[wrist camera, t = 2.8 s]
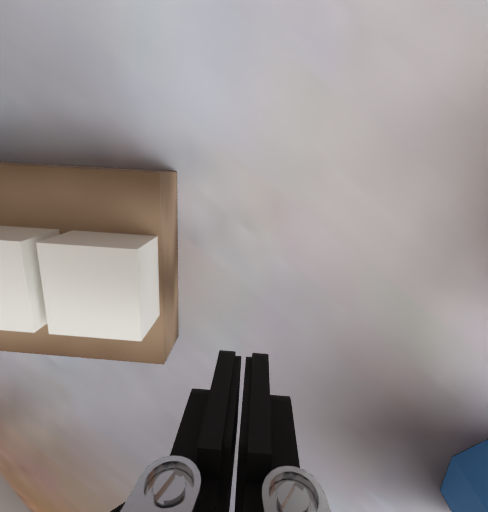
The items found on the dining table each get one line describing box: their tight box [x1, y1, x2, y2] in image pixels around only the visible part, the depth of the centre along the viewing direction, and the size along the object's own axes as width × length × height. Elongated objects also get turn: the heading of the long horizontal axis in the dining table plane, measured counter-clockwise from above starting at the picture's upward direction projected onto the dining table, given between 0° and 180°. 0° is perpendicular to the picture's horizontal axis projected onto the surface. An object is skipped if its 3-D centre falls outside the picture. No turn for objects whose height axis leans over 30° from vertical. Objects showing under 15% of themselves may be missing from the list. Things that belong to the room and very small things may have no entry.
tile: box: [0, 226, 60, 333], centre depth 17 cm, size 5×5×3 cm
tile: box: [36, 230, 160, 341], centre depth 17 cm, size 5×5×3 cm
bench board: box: [0, 162, 178, 364], centre depth 20 cm, size 12×12×4 cm
